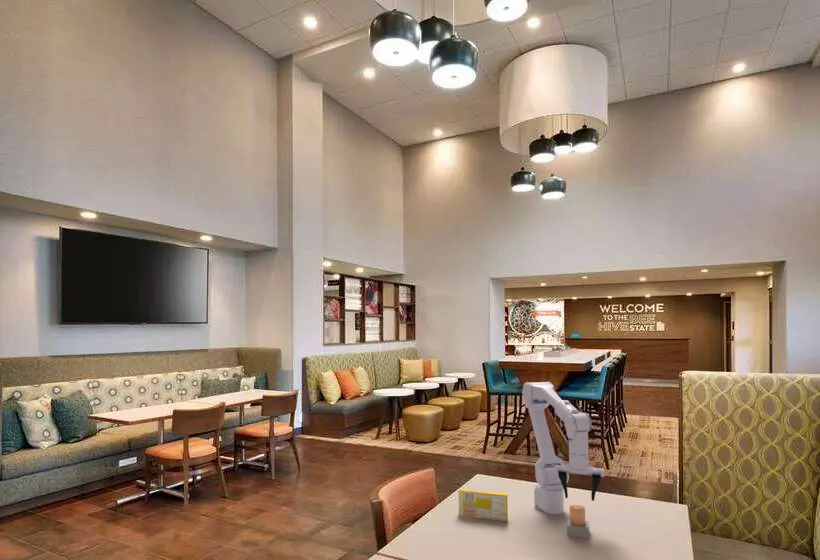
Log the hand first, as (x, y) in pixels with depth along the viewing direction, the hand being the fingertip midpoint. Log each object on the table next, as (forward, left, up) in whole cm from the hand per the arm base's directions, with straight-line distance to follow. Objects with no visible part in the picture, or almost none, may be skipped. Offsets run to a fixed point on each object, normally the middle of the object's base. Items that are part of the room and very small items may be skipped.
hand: (579, 498), depth 153 cm
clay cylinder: (+2, -3, -6) cm, 7 cm away
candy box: (-25, -17, -11) cm, 32 cm away
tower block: (+2, -3, -9) cm, 10 cm away
